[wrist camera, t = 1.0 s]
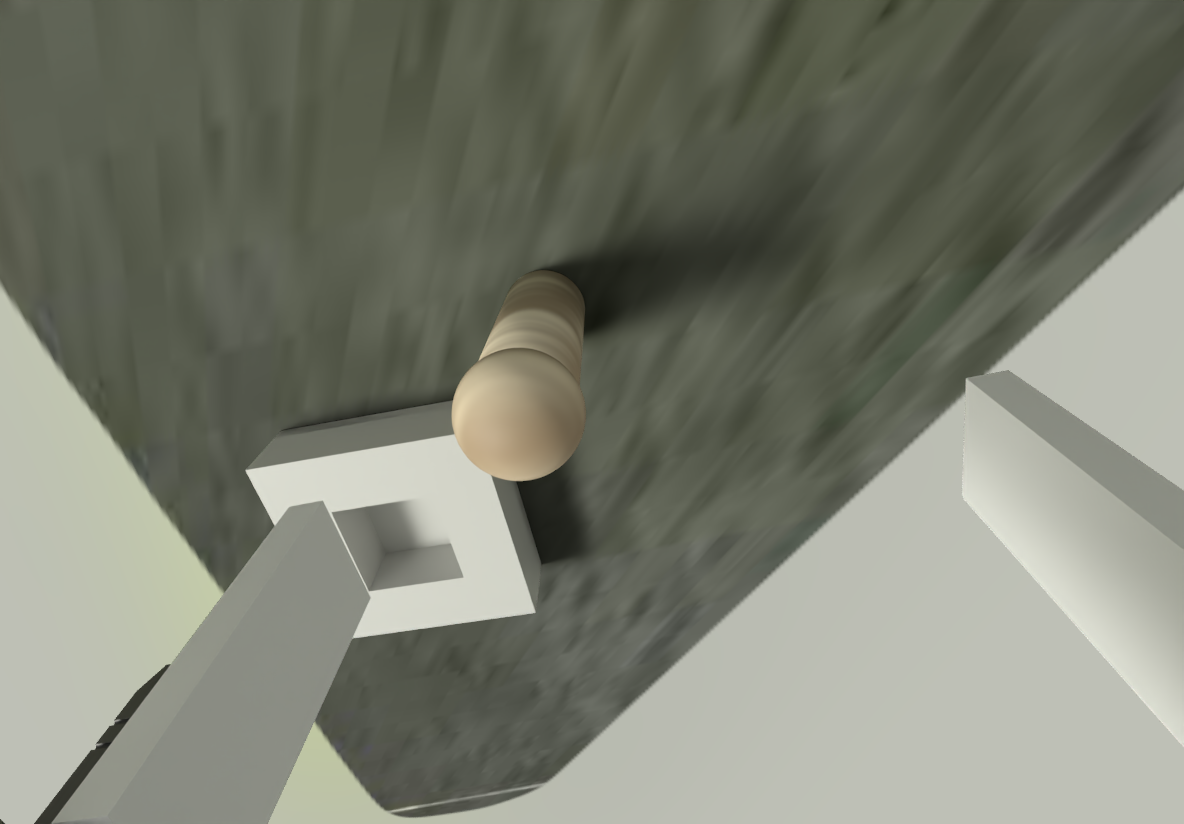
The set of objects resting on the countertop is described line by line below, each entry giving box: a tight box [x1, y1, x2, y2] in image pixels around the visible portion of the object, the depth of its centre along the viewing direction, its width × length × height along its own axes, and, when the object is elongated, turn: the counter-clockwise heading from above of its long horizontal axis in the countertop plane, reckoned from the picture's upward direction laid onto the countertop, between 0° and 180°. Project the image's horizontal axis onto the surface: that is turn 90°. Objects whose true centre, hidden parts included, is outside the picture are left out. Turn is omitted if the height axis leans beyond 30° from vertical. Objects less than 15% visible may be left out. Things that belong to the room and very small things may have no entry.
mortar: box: [245, 400, 542, 638], centre depth 36 cm, size 12×12×4 cm
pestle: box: [452, 270, 586, 481], centre depth 26 cm, size 5×5×14 cm
